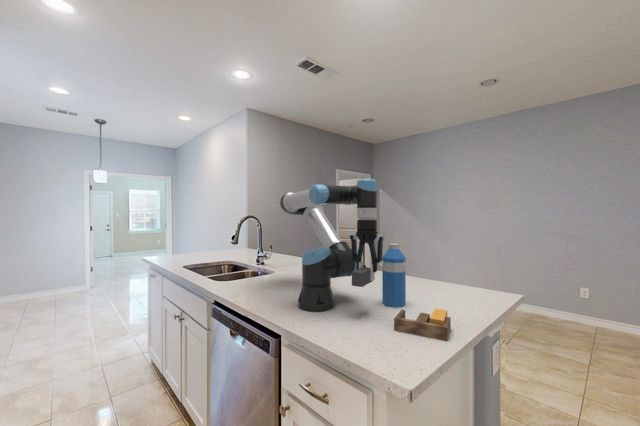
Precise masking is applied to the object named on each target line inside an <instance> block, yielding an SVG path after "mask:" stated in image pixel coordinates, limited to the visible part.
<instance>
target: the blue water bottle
mask: <svg viewBox="0 0 640 426" xmlns="http://www.w3.org/2000/svg"><path fill="white" fill-rule="evenodd" d="M381 263H382V270H381V272H382V291H381V292H382V295H381V296H382V304H383V305H384V306H386V307H390V308H403V307H405V306H406V296H407V295H406V294H407V293H406V290H407V289H406V256H405V255H404V253H403V252H402V251H401V250H400V244H399V243H388V249H387V250H386V252H385V253H384V254H383V255H382V261H381Z"/></svg>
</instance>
